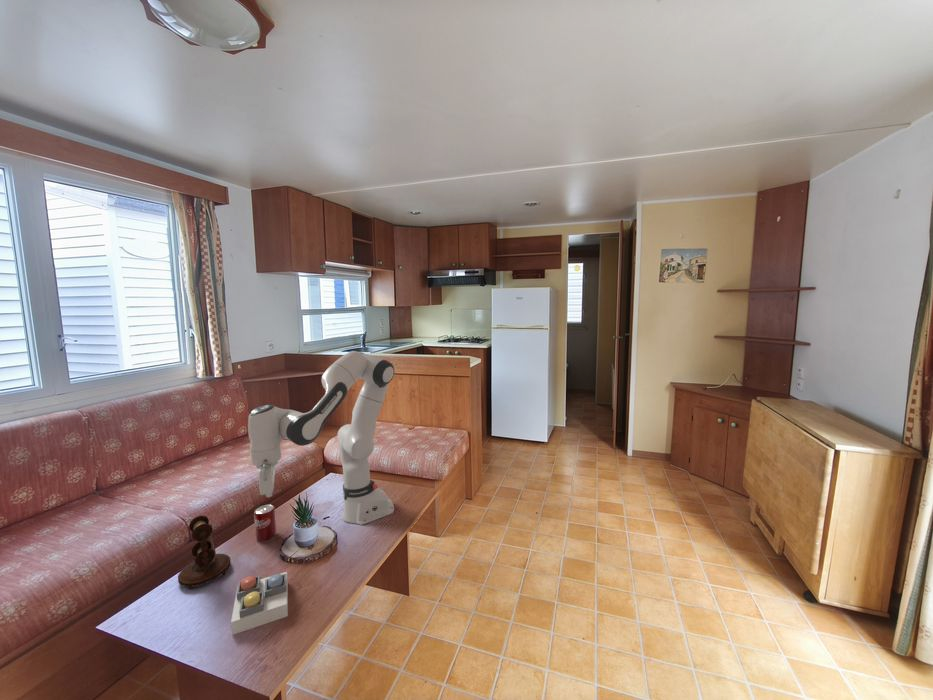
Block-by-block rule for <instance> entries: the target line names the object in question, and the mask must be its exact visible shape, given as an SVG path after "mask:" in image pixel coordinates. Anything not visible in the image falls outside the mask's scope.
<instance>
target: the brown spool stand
mask: <svg viewBox="0 0 933 700" xmlns="http://www.w3.org/2000/svg"><path fill="white" fill-rule="evenodd" d="M188 529H189V530H190V532H192V533H191V537H192V539H193V540H194V541H196V543H195V544H194V545H193V547H192V548H191V555H192V556H193V557H194V560H193V561H192V562H190V563H188V564H187V565H186V566H184V567H183V568H182V569H181V570H180V572H179V573H178V575H177V581H178V584H179V585H180V586H183V587H187V588H188V589H189V590H192V589H193V587H197V586H202V585H205V584H208V583H210V582H212V581H215V580H217V578H220V576H222V575H223V576H224V575H226V573H227V570H228V569H229V568H230V566H231V563H232V562H231V557H230V556H229V555H228V554H225V553H217V552H216V547H215V543H214V538H213V535H212V533H213V526H212V525H211V524H210V520H209V518H208V517H207V516H206V515H199V516H196V517H194V518H193V519H192V520H191V521H190V523H189V525H188ZM208 538H210V541H209V540H208Z"/></svg>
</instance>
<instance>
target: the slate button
mask: <svg viewBox="0 0 933 700" xmlns="http://www.w3.org/2000/svg"><path fill="white" fill-rule="evenodd" d="M270 576H271V575H270ZM270 576H269V577H270ZM279 586H283V577H282V575H281V573H276V574H273V575H272V576H271V577H270V578H269V579H268V587H269V590H270V589H273V588H276V587H279Z"/></svg>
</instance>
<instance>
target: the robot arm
mask: <svg viewBox="0 0 933 700" xmlns="http://www.w3.org/2000/svg"><path fill="white" fill-rule="evenodd" d="M394 375H395V367H394V364H393V363H391V362H390V361H389V360H387V359H383V358H381V357H379V356H376V355H372V354H367V353H365V352H359V351H356V350H351V351H348V352H347V353H345V354H344V355H342V356H340V357H339V358H338V359H337V360H336V361H334V362H333V363H332V364H331V365H330V366H328V368H327V369H326V370H325V371H324V373H323V374H322V375H321V384H322V385H321V386H322V387H323V389H324V390H325V394H324V395H323V396H322V397H321V398H320V400H319V401H318V402H317V403H316V404H315V406H314V407H313V408H312V409H311V410H310V411H307V412H301V411H297V410H294V409H285V408H280V407H277V406H275V405H274V404H264V405H261V406H258V407H256V408H254V409H253V410H251V412H250V413H249V415H248V422H247V426H248V427H247V429H248V430H247V431H248V432H247V433H248V438H249V441H250V446H249V454H250V455H249V456H250V464H251V465H253V466H255V468H256V469H258V483H259V495H261V496H265V497H266V498H271V497H273V493H274V487H275V474H276V473H275V472H276V466H277V464H279V463H278V462H279V461H280V460H281V459H282V449H281V448H282V447H281V441H282V440H288V441H291V443H293V444H295V445H297V446H301V447H302V446H304V447H305V446H309V445H310V444H312V443H314V441H316V440H317V438H319V436H320V434H321V432H322V429H323V428H324V426H325V425H326V422H327V421H328V420H329V419H330V417H332V415H333V413H335V411H336V410H337V409H338V408H339V407H340V404H341V403H342V402H343V400H345V398H346V396H347V395H348V391H349V389H350V388H351V387H352V386H353V385H354V384H355V383H356V382H357V381H358V379H361V380H363V381H364V383H363V385H362V386H361V389H360V391H359V394H358V396H357V399H356V401H355V403H354V405H353V408H352V412H351V413H352V416H351V423H348V424H347V423H346V424H344V425H342V426H341V427H340V428H339V429H338V431H337V437H336V438H337V442H338V448H339V449H338V450H339V454H340V460H341V466H342V476H343V484H342V496H343V509H342V513H341V519H342V520H343V521H345V522H347V523H349V524H350V523H351V524H357V525H360V526H361V525H366V524H368V523H370V522H373V521H376V520H378V519H381V518H384V517H386V516H389V515H392V514H393V513H394V511H395V506H394V503H393V501H392V500H391V499H390V498H388V496H387V493H386V492H385V491H384V490H382V489H381V488H378V487H379V486H378V485H377V483H376V482H375V480H373V479H372V478H371V473H370V472H371V471H370V462H369V459H368V458H369V457H370V456H371V455H372V453H373V451H374V448H375V446H374V438H375V434H376V433H375V432H376V426H377V422H378V417H379V415H380V412H381V411H382V410H381V409H382V407H383V404H384V401H385V400H386V395H387V393H388V392H387V391H388V386H389V383H391V382H392V380H393V378H394Z"/></svg>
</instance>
